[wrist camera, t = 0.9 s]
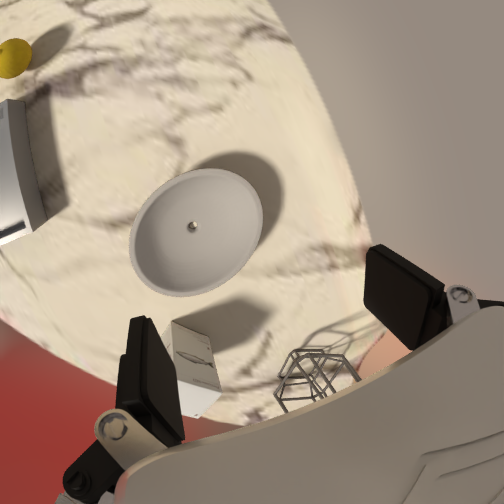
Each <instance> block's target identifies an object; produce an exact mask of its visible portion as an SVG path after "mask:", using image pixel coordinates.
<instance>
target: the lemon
mask: <svg viewBox="0 0 504 504" xmlns="http://www.w3.org/2000/svg"><path fill="white" fill-rule="evenodd" d="M31 58H32V49H31V47H30V45H29V44H28V43H27V42H26V41H25V40H22V39H18V38H14V39H9V40H7V41H5V42H4V43H2V44H1V45H0V77H1V78H5V79H10V78H14V77H16V76H18V75H20V74H21V73H23V72H24V71H25V69H26V68H27V67H28V65H29V63H30V61H31Z"/></svg>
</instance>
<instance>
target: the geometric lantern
mask: <svg viewBox="0 0 504 504" xmlns="http://www.w3.org/2000/svg"><path fill="white" fill-rule="evenodd" d="M294 352H295V354H296V355H297V356H298V357H297V358H296V359H294V357H293V356H292V354H293V353H294ZM297 352H321V353H306V354H305V355H302V356H299V354H298V353H297ZM290 356H291V358H292V359H293V361H294V362H293V364H292V366H291V367H290V369H289V371H288V373H287V375H286V376H285V378H281V377H280V374H281V372H282V370H283V369H284V367H285V365H286V363H287V361H288V359H289V357H290ZM322 357H325V360H324V362H323V364H322V366H321V368H320V367H319V366H318V363H319V361H320V359H321V358H322ZM329 357H342V359H343V361H342V360H338V359H333V358H329ZM304 358H310V359H311V361H312V362H313V364H314V365H315V366H314V368H313V370H312V371H311V373H310V374H309V375H307V374H306V373H305V371H304V370H303V369H302V367H301V366H300V365H299V362H300V361H302V360H303V359H304ZM314 358H319V360H318V361H317V363H316V361H315V360H314ZM327 359H330V360H334V361H339V362H342V364H341V365H340V367H339V368H338V370H337V371H336V373H335V374H334V375H333V377H332V378H331V380H330V381H328V379H327V378H326V376H325V375H324V373H323V372H322V370H321V369H322V367H323V366H324V364H325V362H326V360H327ZM296 360H297V361H296ZM344 364H345V366H346V367H347V369H348V370H349V372H350V373H351V375H352V376H353V378H354V379H355V381H356V382H359V381H361V380H362V379H361V378H360V377H359V375H358V374H357V373H356V371H355V370H354V369H353V367H352V366H351V365H350V363H349V362H348V360H347V359H346V358H345V356H344V355H343V354H325V353H324V352H323V351H322V350H293V351H292V352H291V353H290V354H289V355H288V357H287V359H286V361H285V363H284V365H283V367H282V369H281V371H280V372H279V374H278V376H277V377H278V378H279V379H280V380H281V383H280V385H279V386H278V388H277V389H276V391H275V392H274V393H273V395H274V397H275V398H276V400H277V401H278V403H279V404H280V406H281V407H282V409H283V410H284V412H285V414H286V413H288V410H287V409H286V407H285V405H284V404H283V402H282V401H290V400H304V399H312V400H313V401H314V402H316V400H315V397H317V396H319V397H320V399H323V398H324V397H323V396H322V394H324V396H325V397H328V396H327V394H326V393H325V391H326V389H327V388H328V386H329V388H330V389H331V391H332V392H333V394H334V393H337V392H336V391H335V389H334V388H333V386H332V385H331V382H332V381H333V380H334V378H335V377H336V375H337V374H338V372H339V371H340V370H341V368H342V367H343V365H344ZM295 366H297V367H298V369H299V370H300V371H301V373H302V374H303V375H304V377H292V378H288V377H289V375H290V374H291V372H292V371H293V369H294V368H295ZM315 368H317V370H318V373H317V375H316V376H315V378H314V377H313V375H312V373H313V371H314V369H315ZM319 373H320V374H321V376H322V377H323V379H324V380H325V382H326V383H327V385H326V387H325V388H324V389H323V390H322V388H321V387H320V386H319V385H318V384H317V382H316V381H315V380H316V378H317V376H318V374H319ZM310 375H311V377H312V378H313V380H312V381H311V379H310V378H309V376H310ZM303 378H306V379H307V381H308V382H302V383H294V384H285V381H286V380H287V379H303ZM313 382H314V383H315V384H316V385H317V386H318V387H319V389H320V390H321V391H322V392H319V390H318V389H317V388H316V386H315V385H314V384H313ZM307 383H309V384H310V390H311V397H299V398H283V399H281V397H282V394H283V391H284V388H285V386H291V385H299V384H307ZM282 385H283V388H282V391H281V394H280V397H278V396H277V395H276V394H277V392H278V391H279V390H280V388H281V387H282ZM312 388H313V389H314V390H315V392H316V393H317V394H316V395H314V396H313V392H312Z"/></svg>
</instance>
